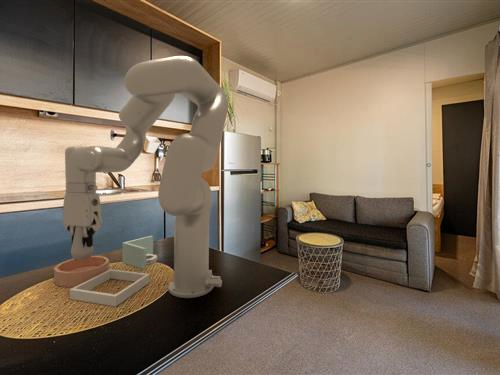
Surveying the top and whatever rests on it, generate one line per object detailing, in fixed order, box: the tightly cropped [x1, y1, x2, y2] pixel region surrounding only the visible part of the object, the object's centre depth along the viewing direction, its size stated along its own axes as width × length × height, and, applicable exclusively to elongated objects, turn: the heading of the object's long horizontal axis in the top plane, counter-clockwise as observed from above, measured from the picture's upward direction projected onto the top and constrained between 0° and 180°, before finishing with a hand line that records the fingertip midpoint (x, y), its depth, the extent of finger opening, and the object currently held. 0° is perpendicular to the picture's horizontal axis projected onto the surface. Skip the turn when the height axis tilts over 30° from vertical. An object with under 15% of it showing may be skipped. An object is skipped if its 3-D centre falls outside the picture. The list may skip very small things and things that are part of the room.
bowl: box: [53, 255, 111, 288], centre depth 76 cm, size 14×14×4 cm
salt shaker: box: [70, 226, 94, 261], centre depth 76 cm, size 6×6×13 cm
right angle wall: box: [122, 235, 159, 270], centre depth 91 cm, size 12×12×8 cm
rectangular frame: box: [69, 268, 151, 307], centre depth 68 cm, size 14×14×2 cm
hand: (82, 248), depth 76 cm, fingers closed on salt shaker, 3 cm apart
